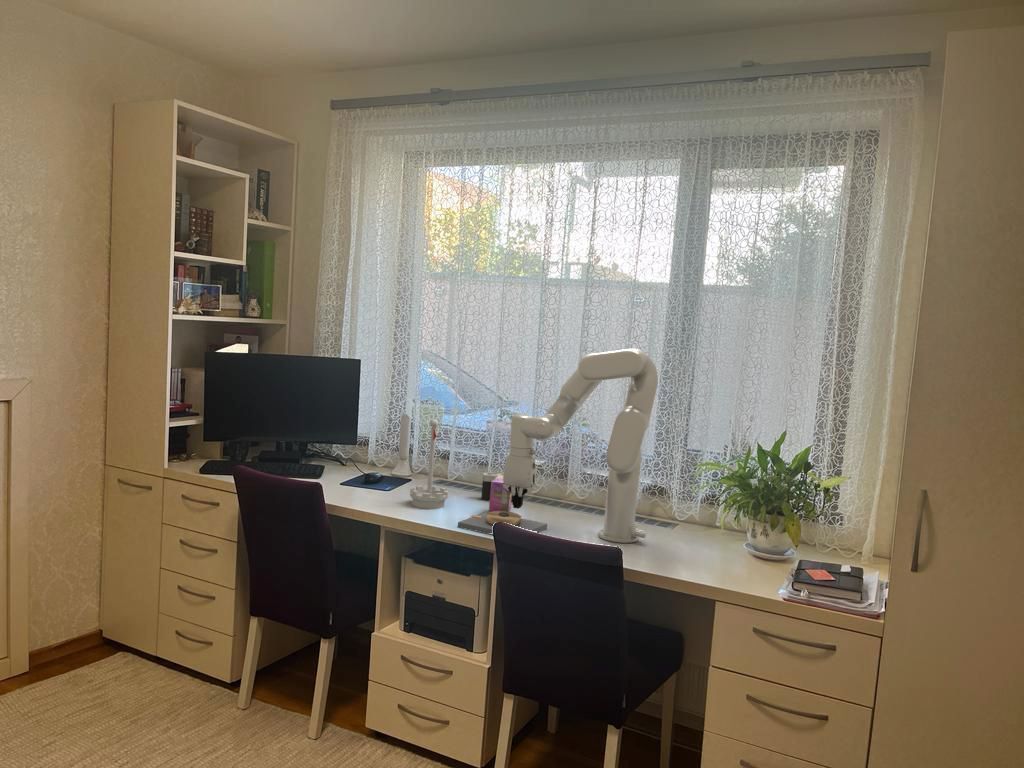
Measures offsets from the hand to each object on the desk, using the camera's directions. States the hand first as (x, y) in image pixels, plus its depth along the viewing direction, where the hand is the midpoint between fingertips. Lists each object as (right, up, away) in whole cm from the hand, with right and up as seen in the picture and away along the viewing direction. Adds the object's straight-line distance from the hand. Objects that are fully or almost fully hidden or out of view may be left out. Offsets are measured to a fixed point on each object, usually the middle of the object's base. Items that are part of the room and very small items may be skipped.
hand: (517, 507), depth 263 cm
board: (-4, -5, -6) cm, 9 cm away
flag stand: (-31, -2, +16) cm, 35 cm away
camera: (-6, -3, +29) cm, 30 cm away
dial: (-4, -3, -5) cm, 7 cm away
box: (-6, -4, +11) cm, 14 cm away
